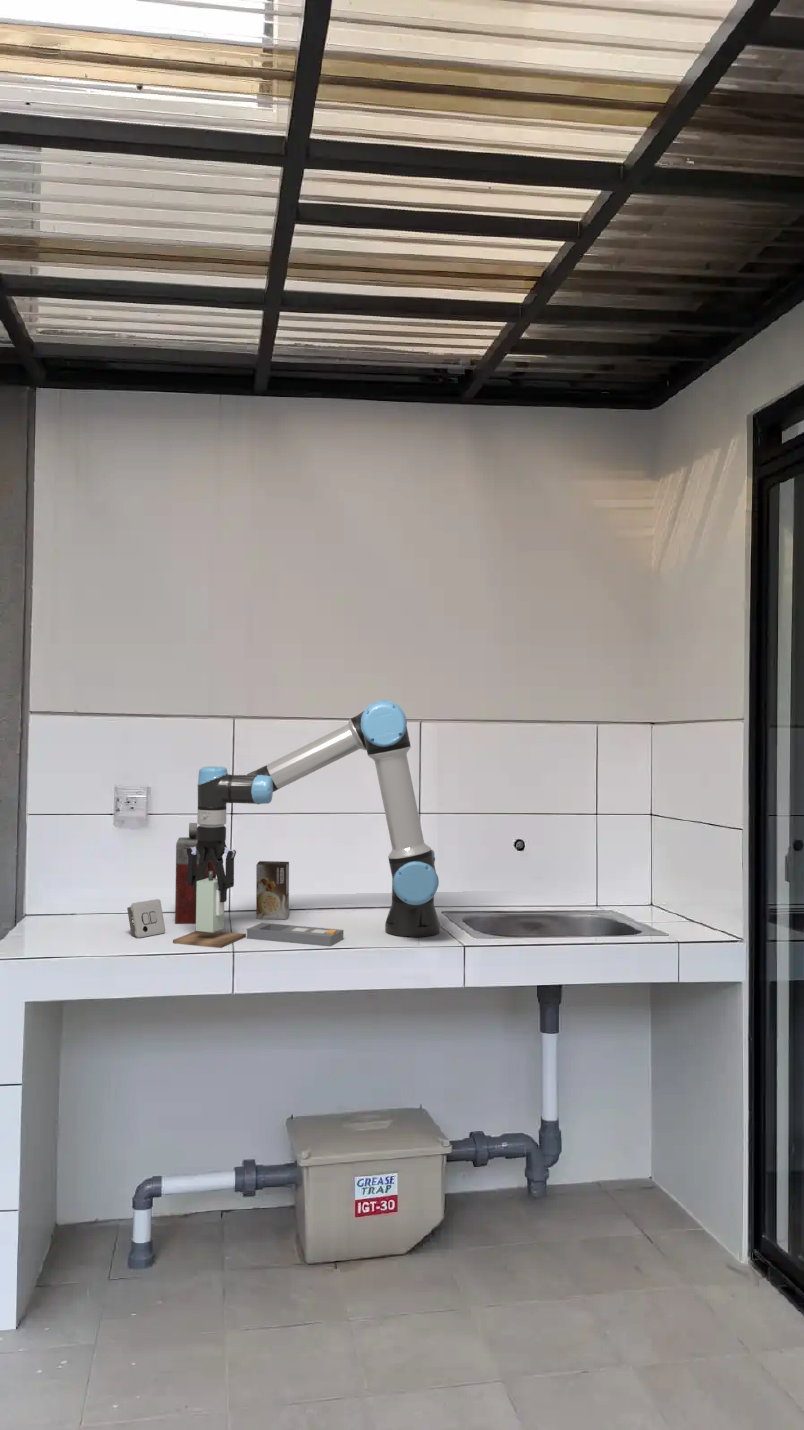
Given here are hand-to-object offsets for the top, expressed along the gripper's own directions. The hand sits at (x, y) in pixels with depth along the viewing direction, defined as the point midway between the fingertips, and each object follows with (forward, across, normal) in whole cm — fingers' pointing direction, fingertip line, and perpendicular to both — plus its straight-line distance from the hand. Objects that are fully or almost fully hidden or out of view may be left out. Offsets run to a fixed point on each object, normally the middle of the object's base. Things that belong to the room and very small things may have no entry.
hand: (210, 913), depth 288 cm
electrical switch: (+7, -19, -1) cm, 20 cm away
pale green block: (+4, 0, 0) cm, 4 cm away
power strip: (+7, +20, +10) cm, 24 cm away
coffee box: (+7, +2, +34) cm, 35 cm away
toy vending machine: (+7, -16, +21) cm, 27 cm away
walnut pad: (+7, 0, 0) cm, 7 cm away
